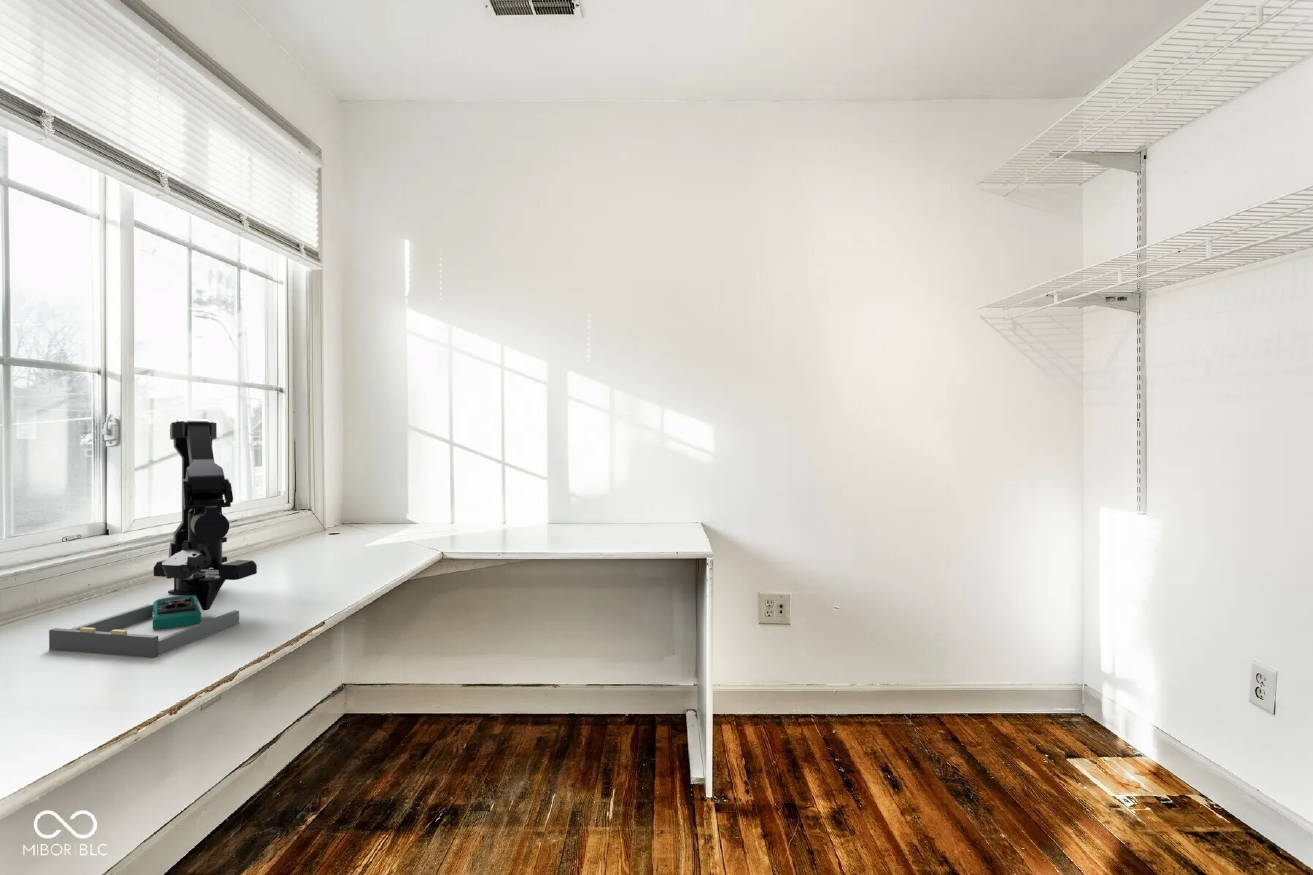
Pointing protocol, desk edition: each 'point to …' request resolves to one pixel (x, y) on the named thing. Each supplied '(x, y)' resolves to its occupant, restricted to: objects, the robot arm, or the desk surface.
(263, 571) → the desk surface
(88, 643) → the frame
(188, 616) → the digital multimeter
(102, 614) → the desk surface
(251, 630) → the desk surface
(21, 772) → the desk surface
